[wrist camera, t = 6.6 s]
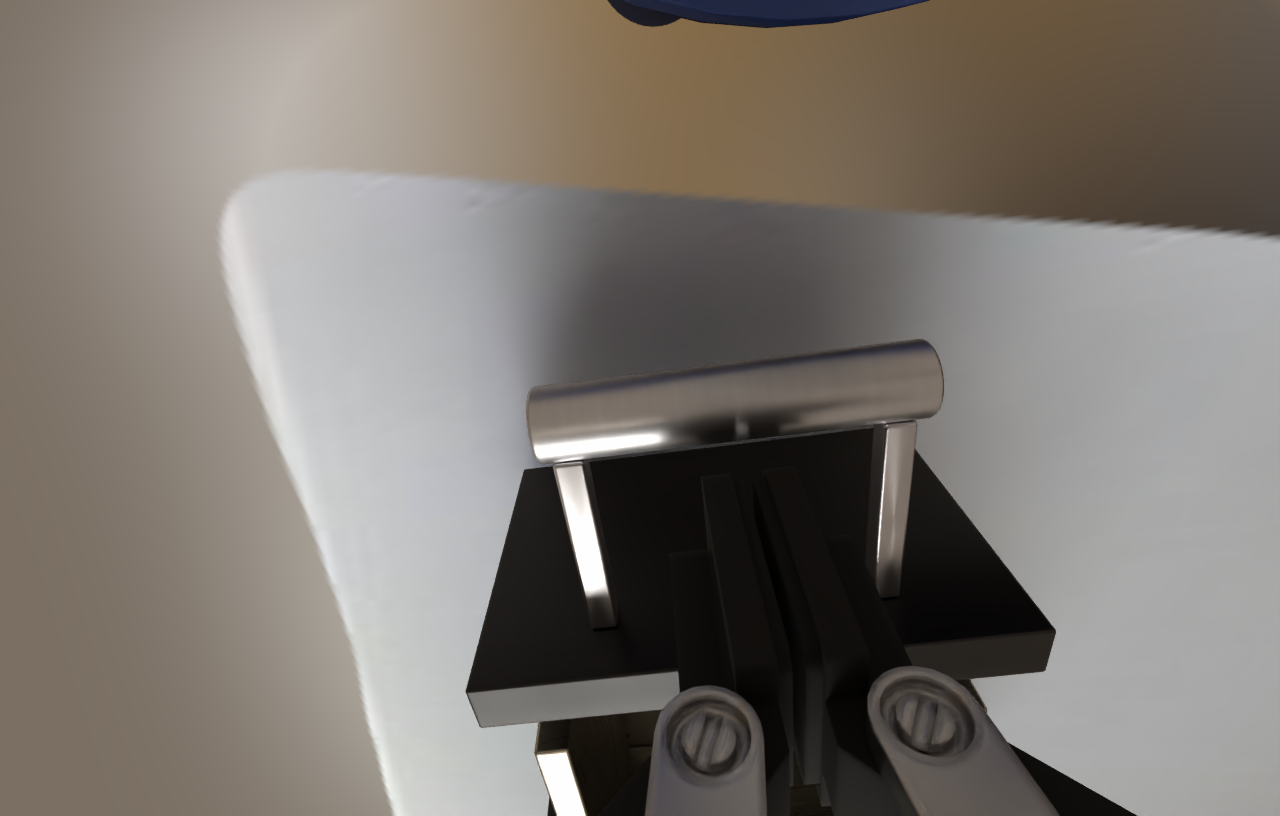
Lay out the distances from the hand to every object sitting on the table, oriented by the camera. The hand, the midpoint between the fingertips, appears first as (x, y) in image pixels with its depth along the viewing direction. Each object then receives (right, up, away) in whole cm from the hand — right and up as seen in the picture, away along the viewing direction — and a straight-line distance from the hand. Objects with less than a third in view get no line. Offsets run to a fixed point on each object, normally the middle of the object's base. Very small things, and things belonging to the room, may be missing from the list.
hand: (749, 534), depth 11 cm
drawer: (+1, -2, +9) cm, 10 cm away
